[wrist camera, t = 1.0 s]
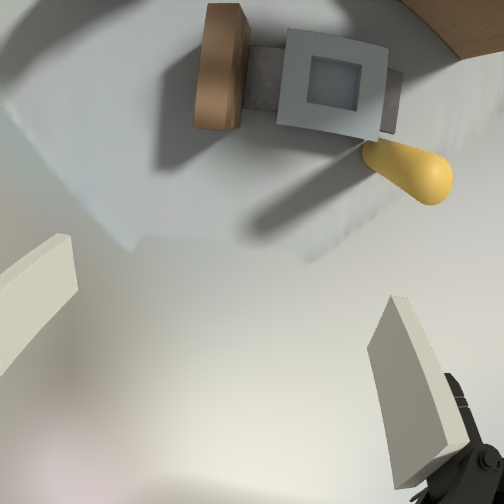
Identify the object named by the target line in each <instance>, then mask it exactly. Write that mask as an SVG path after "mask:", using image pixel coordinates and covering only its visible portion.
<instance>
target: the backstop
mask: <svg viewBox="0 0 504 504" xmlns="http://www.w3.org/2000/svg"><path fill="white" fill-rule="evenodd" d="M250 31H251V27H250V25H249V23H248V21H247V19H246V17H245V14H244V12H243V10H242V8H241V6H240V4H239V3H208V6H207V12H206V19H205V26H204V33H203V40H202V48H201V56H200V64H199V73H198V82H197V91H196V101H195V112H194V124H193V128H201V129H215V130H228V129H233V128H239V126H240V116H241V107H242V98H243V89H244V80H245V72H246V63H247V55H248V47H249V38H250Z"/></svg>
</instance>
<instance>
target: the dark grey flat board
mask: <svg viewBox="0 0 504 504" xmlns="http://www.w3.org/2000/svg"><path fill="white" fill-rule="evenodd" d="M284 55H285V49H281V48H272V47H261V46H250V50H249V58H248V67H247V75H246V84H245V93H244V102H243V108H253V109H262V110H271V111H278V106H279V98H280V89H281V81H282V72H283V64H284ZM401 83H402V73H399V72H396V71H392V70H389V69H387V77H386V86H385V95H384V103H383V110H382V117H381V124H380V130H382V131H386V132H390V133H394V134H395V129H396V122H397V115H398V108H399V100H400V92H401Z"/></svg>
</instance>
